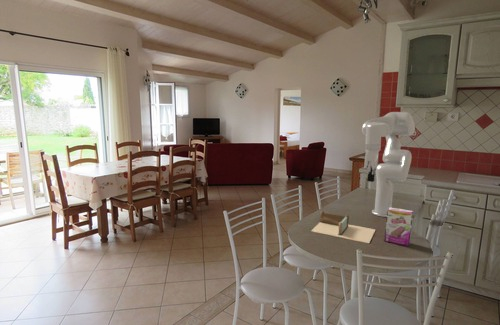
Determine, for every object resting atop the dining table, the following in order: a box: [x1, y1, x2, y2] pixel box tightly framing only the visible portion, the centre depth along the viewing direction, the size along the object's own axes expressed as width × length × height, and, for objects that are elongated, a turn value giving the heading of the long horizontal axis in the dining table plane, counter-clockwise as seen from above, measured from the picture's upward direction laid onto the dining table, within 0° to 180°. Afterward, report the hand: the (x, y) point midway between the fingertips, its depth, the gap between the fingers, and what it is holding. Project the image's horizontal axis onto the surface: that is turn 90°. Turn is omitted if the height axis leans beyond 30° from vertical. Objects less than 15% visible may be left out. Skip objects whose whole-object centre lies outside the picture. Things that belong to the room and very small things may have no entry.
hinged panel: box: [338, 217, 347, 234], centre depth 162 cm, size 2×12×6 cm, turn 149°
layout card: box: [310, 221, 376, 244], centre depth 163 cm, size 20×29×1 cm
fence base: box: [319, 210, 350, 227], centre depth 171 cm, size 2×16×7 cm, turn 60°
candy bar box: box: [384, 207, 414, 247], centre depth 148 cm, size 11×5×16 cm, turn 59°
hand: (370, 181), depth 166 cm, fingers closed
